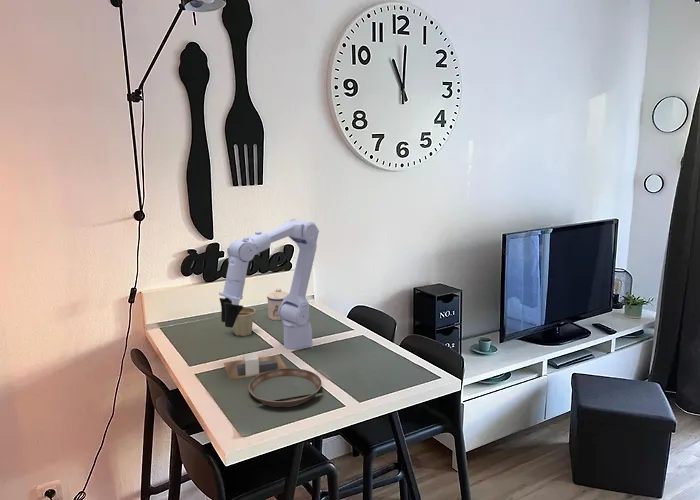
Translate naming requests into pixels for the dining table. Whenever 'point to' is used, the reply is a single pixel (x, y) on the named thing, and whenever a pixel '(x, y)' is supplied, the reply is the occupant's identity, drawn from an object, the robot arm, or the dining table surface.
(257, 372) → the pale grey block
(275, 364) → the bar
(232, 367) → the board
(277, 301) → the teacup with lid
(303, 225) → the robot arm
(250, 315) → the flower pot
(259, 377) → the plant saucer
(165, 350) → the dining table surface
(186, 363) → the dining table surface
